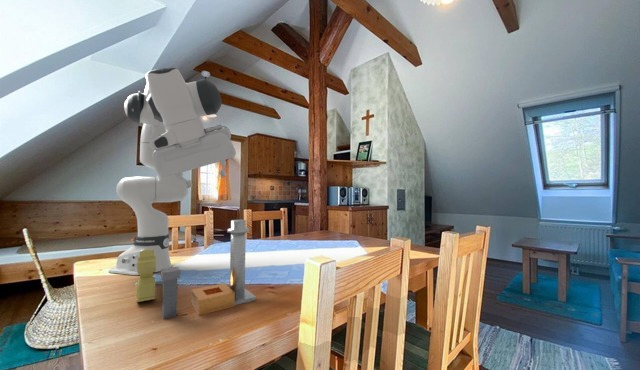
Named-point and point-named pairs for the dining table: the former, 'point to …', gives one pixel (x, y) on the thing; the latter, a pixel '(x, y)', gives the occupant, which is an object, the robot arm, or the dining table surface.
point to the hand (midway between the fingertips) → (206, 181)
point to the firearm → (146, 275)
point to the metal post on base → (236, 294)
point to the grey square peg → (169, 291)
